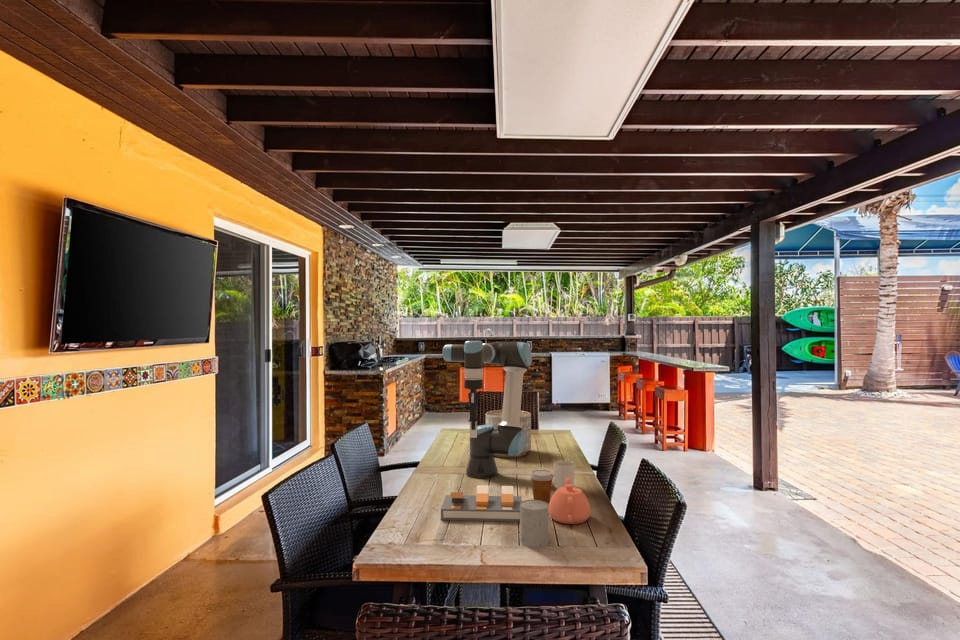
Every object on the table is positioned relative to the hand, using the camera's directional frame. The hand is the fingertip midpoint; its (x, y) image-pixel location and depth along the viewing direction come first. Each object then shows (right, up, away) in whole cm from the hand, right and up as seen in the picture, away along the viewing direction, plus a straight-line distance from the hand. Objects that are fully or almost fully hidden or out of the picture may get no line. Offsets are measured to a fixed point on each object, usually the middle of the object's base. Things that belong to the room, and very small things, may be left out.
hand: (473, 437), depth 212 cm
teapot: (+36, -27, -16) cm, 48 cm away
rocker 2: (+4, -20, -12) cm, 23 cm away
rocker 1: (-6, -20, -11) cm, 23 cm away
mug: (+40, -27, +20) cm, 52 cm away
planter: (+19, -28, +82) cm, 89 cm away
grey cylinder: (+21, -26, -38) cm, 51 cm away
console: (+4, -26, -12) cm, 29 cm away
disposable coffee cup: (+28, -27, 0) cm, 38 cm away
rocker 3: (+13, -20, -12) cm, 27 cm away
